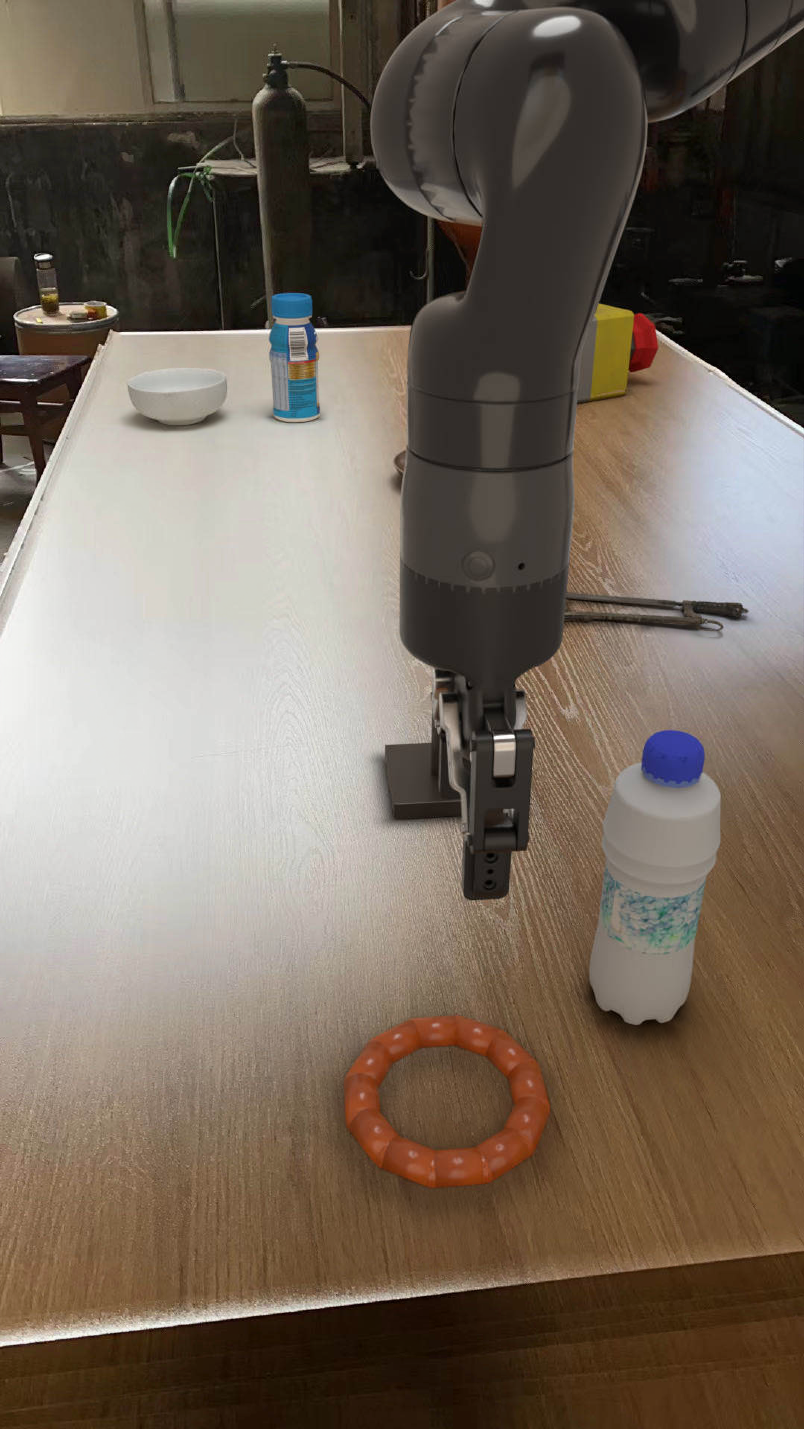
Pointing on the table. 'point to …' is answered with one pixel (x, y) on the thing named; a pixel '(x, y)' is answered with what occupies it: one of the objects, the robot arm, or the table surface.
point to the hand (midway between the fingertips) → (470, 841)
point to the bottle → (654, 879)
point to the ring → (451, 1163)
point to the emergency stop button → (614, 351)
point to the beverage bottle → (294, 359)
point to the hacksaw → (687, 606)
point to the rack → (418, 780)
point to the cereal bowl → (178, 394)
